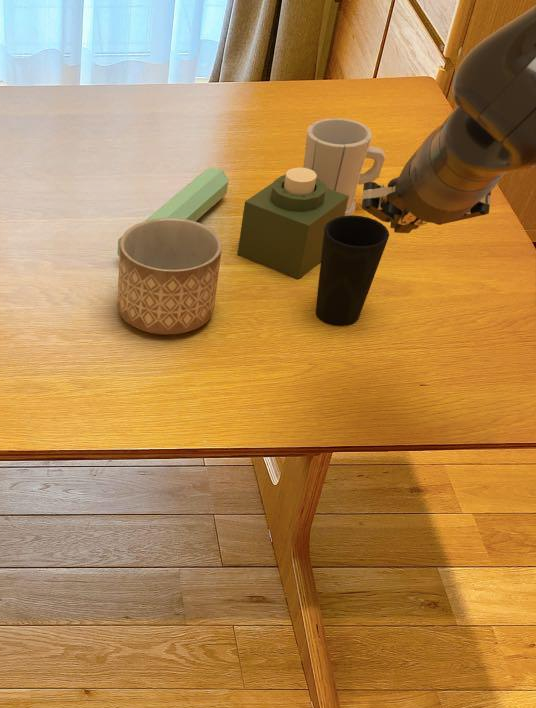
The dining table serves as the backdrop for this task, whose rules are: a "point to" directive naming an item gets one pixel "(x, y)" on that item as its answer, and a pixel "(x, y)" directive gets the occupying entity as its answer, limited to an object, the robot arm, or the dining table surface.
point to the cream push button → (300, 181)
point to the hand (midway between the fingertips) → (401, 223)
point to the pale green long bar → (194, 198)
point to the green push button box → (288, 226)
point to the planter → (168, 275)
